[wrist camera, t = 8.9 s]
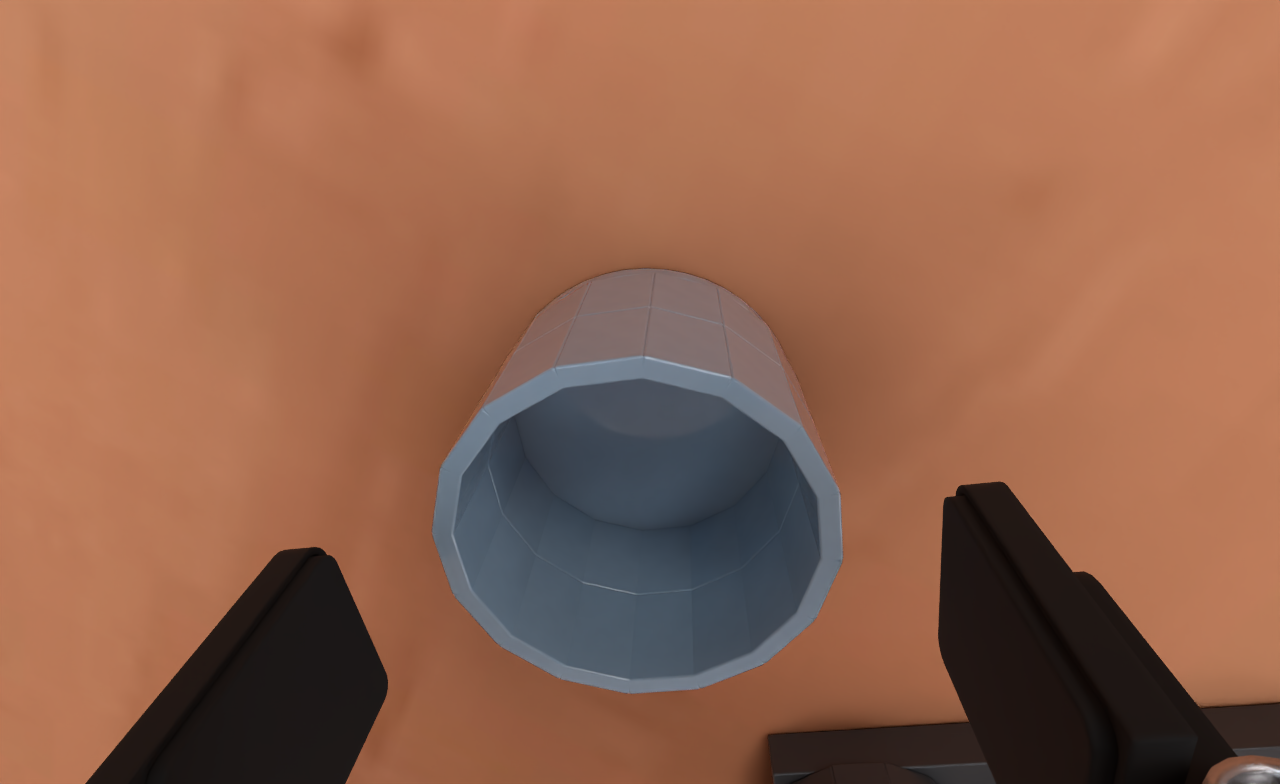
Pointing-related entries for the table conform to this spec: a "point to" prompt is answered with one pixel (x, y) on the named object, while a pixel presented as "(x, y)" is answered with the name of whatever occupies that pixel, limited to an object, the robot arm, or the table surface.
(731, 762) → the table surface
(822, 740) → the scale
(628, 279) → the cup
